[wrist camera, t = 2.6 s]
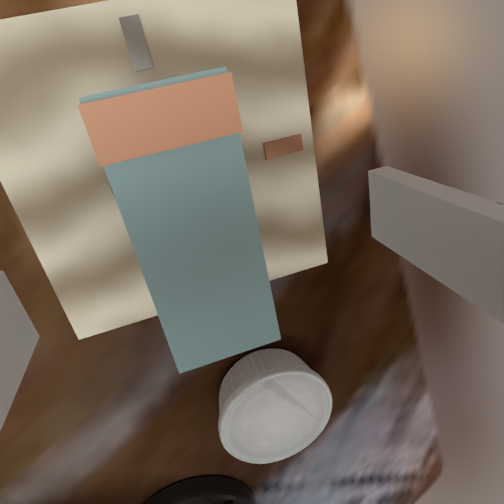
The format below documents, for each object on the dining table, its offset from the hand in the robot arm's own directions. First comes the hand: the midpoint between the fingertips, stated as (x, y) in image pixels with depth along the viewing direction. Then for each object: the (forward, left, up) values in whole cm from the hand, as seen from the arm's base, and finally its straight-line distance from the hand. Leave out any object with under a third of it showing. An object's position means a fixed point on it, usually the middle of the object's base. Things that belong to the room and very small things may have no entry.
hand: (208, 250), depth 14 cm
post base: (0, 0, -18) cm, 18 cm away
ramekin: (-24, -3, -18) cm, 30 cm away
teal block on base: (0, 0, -15) cm, 15 cm away
